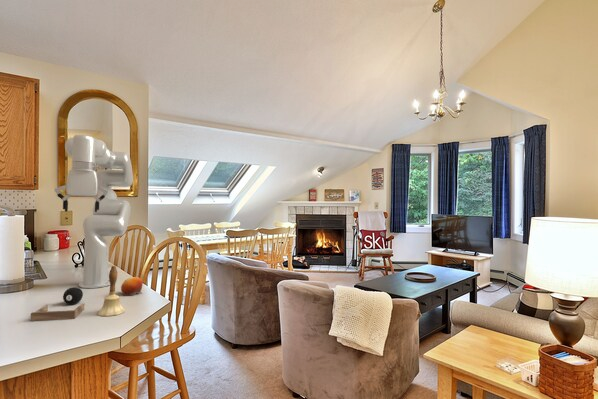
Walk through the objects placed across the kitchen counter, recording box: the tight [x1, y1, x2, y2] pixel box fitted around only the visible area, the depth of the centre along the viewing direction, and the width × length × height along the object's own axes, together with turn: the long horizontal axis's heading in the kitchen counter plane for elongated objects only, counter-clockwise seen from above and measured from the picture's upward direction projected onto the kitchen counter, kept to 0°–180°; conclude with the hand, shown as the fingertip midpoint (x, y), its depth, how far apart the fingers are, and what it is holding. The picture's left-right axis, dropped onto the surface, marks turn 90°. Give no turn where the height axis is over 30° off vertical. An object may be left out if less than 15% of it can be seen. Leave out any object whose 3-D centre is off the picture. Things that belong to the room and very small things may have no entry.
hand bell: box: [97, 265, 126, 317], centre depth 117 cm, size 8×8×16 cm
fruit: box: [120, 276, 143, 296], centre depth 140 cm, size 8×8×8 cm
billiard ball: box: [62, 287, 84, 305], centre depth 125 cm, size 6×6×6 cm
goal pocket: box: [30, 303, 86, 322], centre depth 112 cm, size 10×12×2 cm
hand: (81, 211), depth 130 cm, fingers open, 9 cm apart
